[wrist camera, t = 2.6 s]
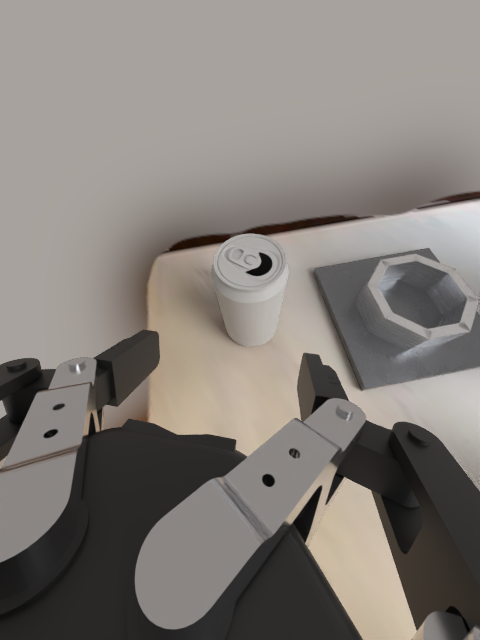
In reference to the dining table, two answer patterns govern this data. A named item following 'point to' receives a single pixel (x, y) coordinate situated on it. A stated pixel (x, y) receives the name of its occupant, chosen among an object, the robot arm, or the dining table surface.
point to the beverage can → (250, 287)
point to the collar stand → (402, 317)
